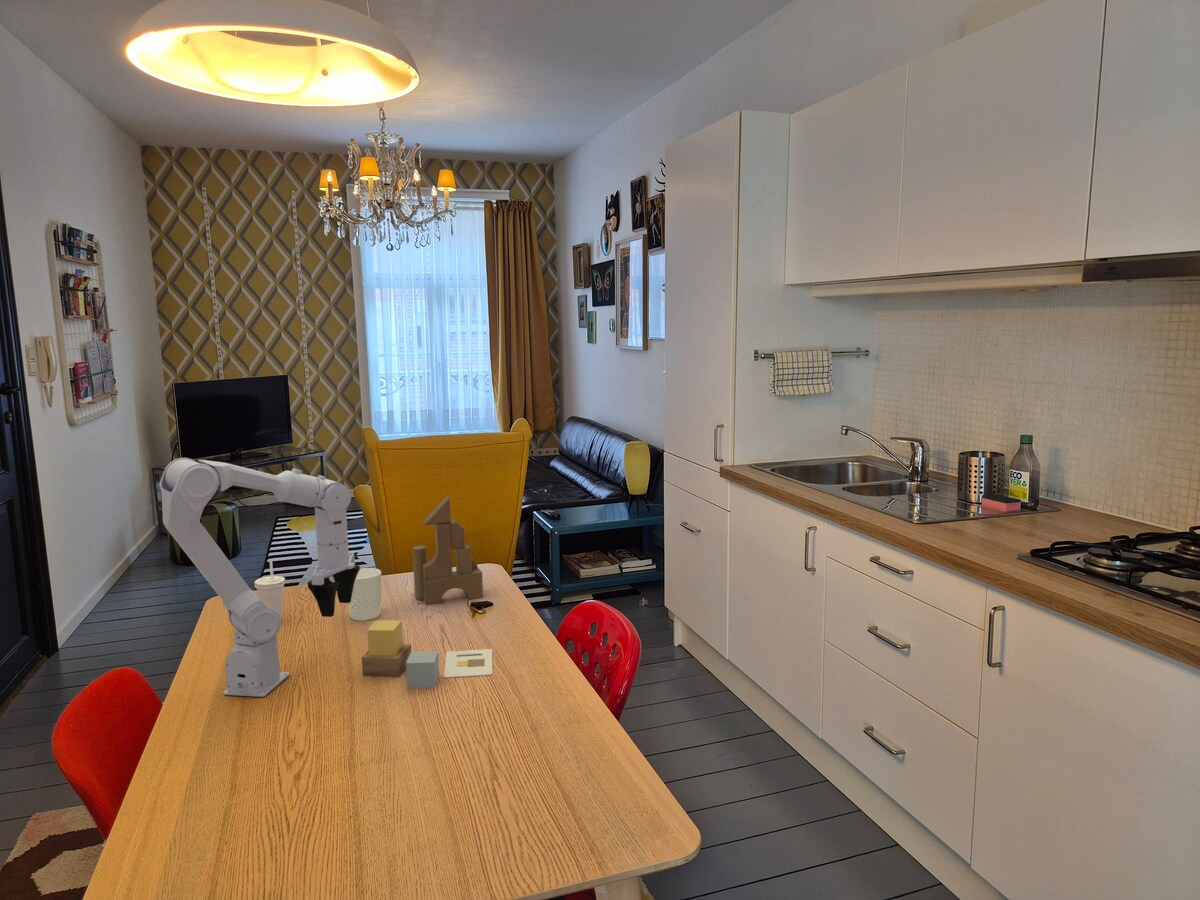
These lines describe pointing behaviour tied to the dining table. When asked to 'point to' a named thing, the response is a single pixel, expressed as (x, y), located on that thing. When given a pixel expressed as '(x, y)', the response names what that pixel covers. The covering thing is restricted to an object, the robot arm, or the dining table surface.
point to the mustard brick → (385, 638)
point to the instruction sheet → (468, 663)
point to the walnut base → (386, 663)
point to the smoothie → (271, 591)
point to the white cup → (366, 595)
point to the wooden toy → (445, 561)
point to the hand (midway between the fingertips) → (336, 609)
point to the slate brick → (422, 670)
